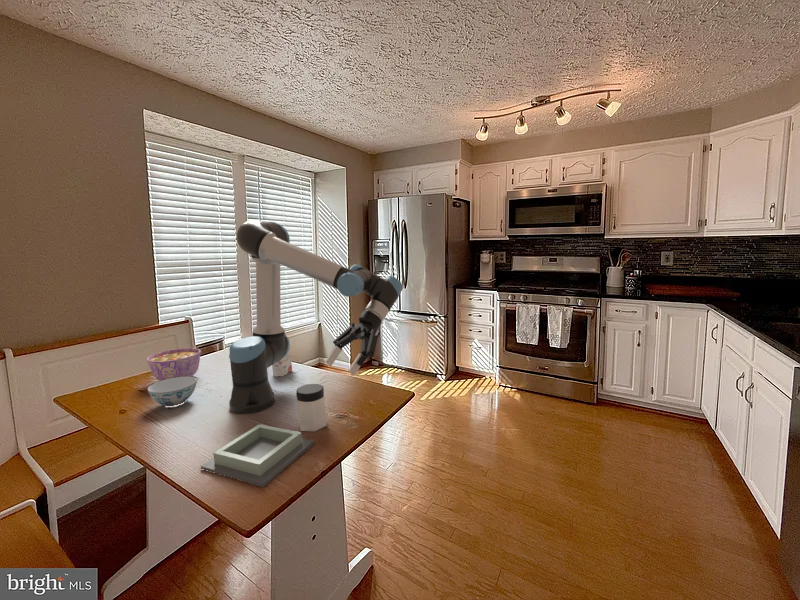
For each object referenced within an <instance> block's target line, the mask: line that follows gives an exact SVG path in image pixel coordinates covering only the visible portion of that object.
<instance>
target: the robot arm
mask: <svg viewBox="0 0 800 600" xmlns="http://www.w3.org/2000/svg"><path fill="white" fill-rule="evenodd" d="M290 240H291V239H290V235H289V232H288V230H287V229H286V228H285V227H284V226H283V225H282V224H280V223H278V222H277V223H276V222H273V221H265V220H253V219H252V220H247V221H246V222H243V223H242V224H241V225H240V226H239V227H238V229H237V232H236V242H237V244H238V246H239V248H241V250H242V251H244V252H245V253H246V254H249V255H251V259H252V260H253V262H254V263H255V276H256V277H255V280H256V281H255V284H256V286H255V287H256V288H255V289H256V326H255V327H254V328H253V329H252V336H246V337H244V338H239V339H237V340H235V341H233V342H232V343H231V344H230V346H229V354H228V357H229V362H230V370H231V371H230V373H231V381H232V390H231V395H230V399H229V402H228V403H229V404H228V406H229V410H230V411H231V412H232V413H234V412H235V414H253V413H257V412H260V411H263V410H266V409H268V408H270V407H272V406H273V405H274V404H275V401H276V396H275V392H274V391H273V389H272V386H271V384H270V382H269V376H268V368H270V367H272V365H273V364H274V363H276V362H278V361H280V360H281V359H282V358H283V357H284V356H285V355H286V354H287V353H288V351H289V346H290V347H291V345H290V340H289V338H288V336H287V335H286V331H285V330H286V329H285V328H284V326H282V325H281V322H282V319H281V265H282V266H285V267H286V268H289V269H291V270H293V271H296V272H297V273H300V274H302V275H304V276H306V277H309V278H311V279H313V280H316V281H318V282H320V283H323V284H325V285H328V286H330V288H331V287H332V288H335V289H336V290H338V292H339V293H340V294H341V295H342V296H344V297H347V298H349V297H350V298H351V297H355V296H359V295H360V294H361V293H365V294H366V295H368V296H370V297H371V299H370V301H369V302H368V304H367V305H366V306H365V308H364V310H363V311H362V313H361V314H360V315H359V317H358V321H359V322H358V323H357V325H356V324H355V323H354V322H351V323H350V325H349V326H348V327H347V328H346V329H345V330H344V331H343V332H342V333H341V334H340V335H339V336H337V337H336V338H335V339H334V340H333V341H332V343H333V345H334V347H333V349H332V350H331V352H330V353H329V354H328V357H327V358H326V359H325V361H324V362H325V363H326V364H327V365H328V366H329V367H332V366H333V364H335V361H336V360H337V358H338V357H339V355H340V354H341V352H342V351H343V348H344V347H346V346H347V345H349V344H350V343H352V342H353V341H357V340H361V351H360V352H359V353H358V354H357V356H356V357H355V359H354V361H353V362H352V364H351V365H350V367H349V368H348V370H347V372H349V373H350V374H351V375H353V376H356V374H357V372H358V371H359V370H360V369H361V368H360V367H362V366H363V364H364V363H365V361H366V360H367V359H368V358H373V357H374V356H375V352H376V347H377V344H378V343H377V342H378V339H379V336H380V334H381V331H380V330H379V328H380V327H381V325H382V323H383V321H384V320H385V318H386V317H387V315H388V313H389V312H390V311H391V309H392V308H393V306H394V304H395V303H396V302H397V301H398V298H399V296H400V295H401V293H402V291H403V289H404V285H403V284H402V281H400V280H399V279H398V278H397V277H395V276H392V275H388V276H386V277H385V278H382V277H380V276H379V275H377V274H376V273H373V272H372V271H370V270H369V269H367V268H366V267H364V266H361V265H360V264H358V263H356V264H353V265H352V266H351V267H350V268H347V267H345V266H343V265H341V264H339V263H336V262H333V261H332V260H329V259H327V258H324V257H323V256H320V255H318V254H316V253H312V252H311V251H308V250H306V249H304V248H301V247H299V246H298V245H296V244H295V245H294V244H293V243H290V242H291V241H290Z"/></svg>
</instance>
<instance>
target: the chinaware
mask: <svg viewBox="0 0 800 600" xmlns="http://www.w3.org/2000/svg"><path fill="white" fill-rule="evenodd" d="M196 386H197V378H195V377H193V376H192V377H177V378H171V379H166V380H163V381H158V382H154V383H153V384H151V385H150V386H148V387H147V392H148V394H149V395H150V396H149V397H150V398H151V399H152V400H153V402H156V403H158V404H159V405H162V406H164V405H165V406H174V405H178V404H181V403H183V402H185V401H186V402H187V400H188V399H189V398H190V397H191V396H192V395H193V394H194V392H195V389H196Z"/></svg>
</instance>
